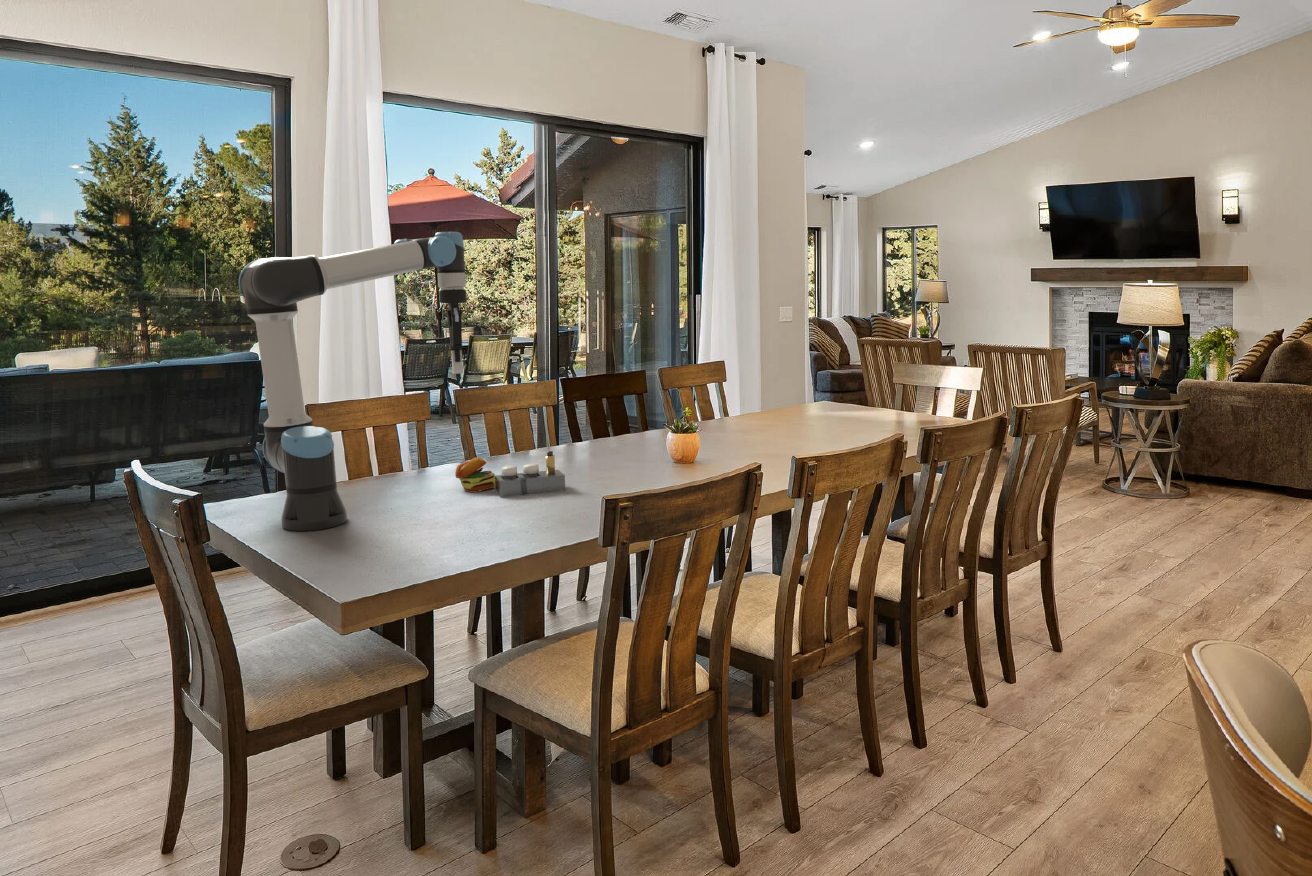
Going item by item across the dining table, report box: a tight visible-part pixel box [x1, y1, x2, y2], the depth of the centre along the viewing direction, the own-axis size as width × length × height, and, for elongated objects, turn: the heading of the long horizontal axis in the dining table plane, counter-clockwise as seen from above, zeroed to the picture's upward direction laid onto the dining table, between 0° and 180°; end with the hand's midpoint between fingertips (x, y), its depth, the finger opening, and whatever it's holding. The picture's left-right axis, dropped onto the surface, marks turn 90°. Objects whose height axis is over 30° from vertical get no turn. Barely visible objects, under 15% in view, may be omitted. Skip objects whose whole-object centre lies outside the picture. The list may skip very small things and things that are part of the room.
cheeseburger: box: [454, 457, 496, 493], centre depth 260 cm, size 10×11×10 cm
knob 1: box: [501, 465, 518, 479], centre depth 253 cm, size 4×4×7 cm
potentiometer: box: [545, 450, 556, 474], centre depth 256 cm, size 2×2×6 cm
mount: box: [495, 469, 566, 498], centre depth 255 cm, size 18×8×4 cm, turn 108°
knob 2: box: [522, 463, 540, 477], centre depth 255 cm, size 4×4×7 cm
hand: (457, 373), depth 260 cm, fingers closed
